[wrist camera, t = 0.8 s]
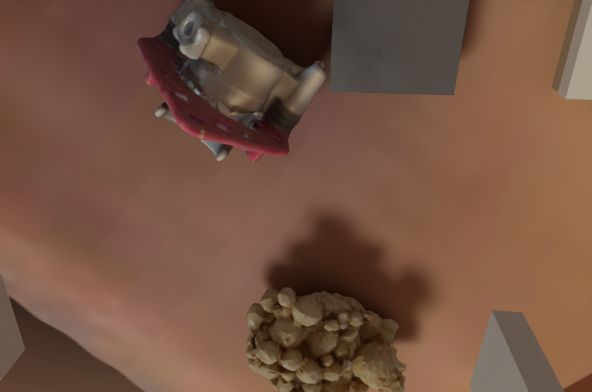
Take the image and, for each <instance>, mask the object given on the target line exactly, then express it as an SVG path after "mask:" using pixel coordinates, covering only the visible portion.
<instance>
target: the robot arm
mask: <svg viewBox="0 0 592 392" xmlns="http://www.w3.org/2000/svg"><path fill="white" fill-rule="evenodd" d="M24 350H25V348H24V345H23V341H22V338H21V335H20V332H19V329H18V326H17V322H16V319H15V316H14V313H13V310H12V307H11V303H10V301H9V297H8V294H7V291H6V288H5V284H4V281H3V278H2V275H0V381H1V379H2V378H3V377H4V375H5V374H6V373H7V372H8V370H9V369H10V368H11V367H12V365H13V364H14V363H15V361H16V360H17V359H18V358H19V356H20V355H21V354H22V352H23V351H24ZM470 386H471V390H472V392H564V390H563V388H562V387H561V385H560V383H559V381H558V379H557V377H556V375H555V373H554V372H553V370H552V368H551V366H550V364H549V362H548V360H547V358H546V356H545V355H544V353H543V351H542V349H541V347H540V345H539V343H538V341H537V340H536V338H535V336H534V334H533V332H532V330H531V328H530V326H529V325H528V323H527V321H526V319H525V317H524V315H523V313H521V312H507V311H494V310H492V312H491V316H490V319H489V322H488V326H487V329H486V332H485V336H484V339H483V343H482V346H481V349H480V353H479V356H478V359H477V363H476V366H475V370H474V373H473V376H472V380H471V383H470Z"/></svg>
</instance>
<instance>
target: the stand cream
mask: <svg viewBox="0 0 592 392" xmlns="http://www.w3.org/2000/svg"><path fill="white" fill-rule="evenodd" d="M552 88H553V89H555V90H557V91H558V95H560V96H562V97H563V98H565V99H587V100H592V0H575V2H574V6H573V10H572V13H571V17H570V21H569V25H568V29H567V33H566V37H565V40H564V44H563V48H562V52H561V56H560V60H559V63H558V67H557V71H556V75H555V79H554V83H553V87H552Z"/></svg>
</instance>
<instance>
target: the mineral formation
mask: <svg viewBox="0 0 592 392" xmlns="http://www.w3.org/2000/svg"><path fill="white" fill-rule="evenodd" d="M246 320H247V322H248V325H249V328H250V336H249V338H248V340H247V344H248V345H249V346H248V348H247V352H246V355H247V357H248V365H249V366H250V368H251V369H252V371H254V372H256V373H258V374H260V375H263V376H265V377H266V378H268V379H271V380H270V386H271V387H272V388H273V389H275V390H276V391H280V392H367V390H368V389H375V390H377V389H378V390H379V392H404V390H405V388H404V381H405V377H404V376H403V375H402V372H403V371H405V369H406V364H403V363H401V362H399V361H398V359H397V357H396V353H397V350H396V349H395V348H394V347H390V344H391V343H392V341H393V339H394V336H395V333H396V331H397V329H398V328H399V326H398V324H397V323H396V321H394V320H392V319H382V318H381V317H379V316H378V315H377V314H376V313H374V312H372V311H370V310H368V311H365V309H364V308H363V306H362V305H361V304H360V303H359V302H357V301H356V300H355V299H354V298H352V297H344V296H342V295H340V294H338V293H334V294H332V295H331V294H330V293H327V292H326V291H322V292H320V293H319V292H315V293H313V294H310V295H305V296H300V297H298V296H296V293H295V292H294V291H293V290H292V289H291V288H288V287H284V288H282V289H281V291H280V292H279V291H277V290H274V289H267V291H266V292H265V294H264V295H263V297H262V299H261V300H260V304H256V303H254V304H253V305H252V306H251V307H250V308H249V311H248V313H247V317H246Z"/></svg>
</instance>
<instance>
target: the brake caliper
mask: <svg viewBox="0 0 592 392" xmlns="http://www.w3.org/2000/svg"><path fill="white" fill-rule="evenodd" d="M137 49H138V50H139V52H140V56H141V57H142V59H143V60H144V62H145V64H146V66H147V68H148V71H147V73H146V75H145V77H144V80H145V82H146V83H147V84H149V85H152V86H154V85H157V87H158V89H159V91H160V93H161V95H162V97H163V98H164V100H165V102H164V103H162V104H161V105H160V106H159V107H158V108H157V110H156V112H155V114H156V116H157V117H164V118H166V119H168V120H170V121H173V122H174V123H176V124H178V125H179V126H180V128H181V129H182V130H184V131H185V132H186V133H188V134H189V135H191V136H193V137H195V138H198V139H200V140H201V141H202V142H203V143H204V144H205V145H206V146H207V147H209V148H210V149H211V150H212V151H213V152H214V154H215V155H216V156H217V157H216V159H217V160H218V161H221V160H223V159H225V158H226V157H227V155H228V154H229V152H230V151H231V150H232V148H233V146H234V147H239V148H241V149H243V150H246V153H247V156H248V157H249V159H250V160H251V161H253V162H257V161H258V160H259V159H260V158H261V157H262V156H263V154H267V155H273V156H277V155H278V156H285V155H287V154H288V152H289V144H288V138H289V135H290V132H291V130H292V129H293V128H294V127H295V126H296V124H297V123H298V122H299V120H300V118H301V116H302V115H303V113H304V111H305V110H306V108H307V107H308V105H309V104H310V103H311V101H312V100H313V98H314V96H315V95H316V93H317V92H318V91H319V90H320V88H321V86H322V84H323V83H324V81H325V79H326V78H327V75H328V74H327V72H326V70H325V69H324V68H325V64H324V62H323V61H316V62H314V64H313V65H311V66H309V67H307V68H302V67H300V66H298V65H297V64H296V63H294V62H293V61H292V60H290V59H288V58H284V57H283V55H282V53H281V51H280V50H279V49H278V47H276V46H275V45H274V44H273V43H272V42H271V41H269V40H268V39H266V38H265V37H264V36H263V35H262V34H260V33H259V32H258V31H257V30H255V29H254V28H252V27H251V26H249V25H248V24H246V23H245V22H243V21H241V20H240V19H238V18H235V17H234V16H233V15H232V14H231V13H229V12H226V11H221V10H219V9H217V8H216V7H215V6H214V0H185V1H184V3H183V4H182V6H181V7H180V8H179V9H178V10H177V11H176V12H175V13H174V14H173V15H172V17H171V19H170V21H169V23H168V25H167V27H166V29H165V30H164V31H163V32H162V33H161V34H159V35H158V36H156V37H154V38H149V37H148V38H140V39H139V40H138V42H137Z"/></svg>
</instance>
